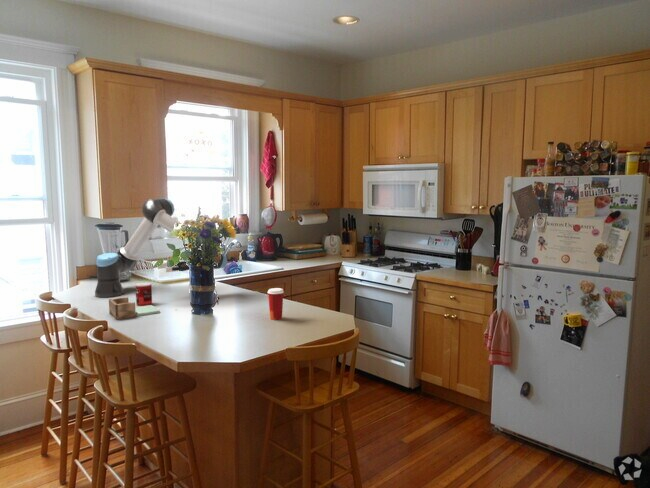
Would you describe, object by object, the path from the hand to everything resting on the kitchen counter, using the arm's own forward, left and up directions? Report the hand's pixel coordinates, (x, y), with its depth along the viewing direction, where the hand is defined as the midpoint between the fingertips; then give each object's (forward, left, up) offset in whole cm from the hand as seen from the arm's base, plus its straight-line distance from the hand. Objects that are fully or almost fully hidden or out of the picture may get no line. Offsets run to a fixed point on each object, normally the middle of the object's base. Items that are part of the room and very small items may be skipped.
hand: (161, 267), depth 266 cm
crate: (+22, -9, -19) cm, 30 cm away
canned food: (+4, -9, -19) cm, 21 cm away
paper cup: (+41, +60, -19) cm, 75 cm away
